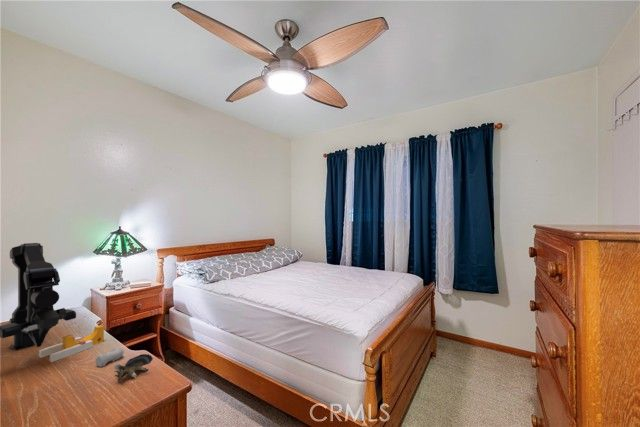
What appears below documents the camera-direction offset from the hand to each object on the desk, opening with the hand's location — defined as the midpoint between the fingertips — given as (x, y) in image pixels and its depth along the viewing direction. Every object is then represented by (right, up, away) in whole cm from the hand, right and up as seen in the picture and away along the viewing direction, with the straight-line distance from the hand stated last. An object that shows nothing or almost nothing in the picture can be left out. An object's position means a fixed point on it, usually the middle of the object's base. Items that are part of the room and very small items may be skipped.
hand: (38, 346), depth 91 cm
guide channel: (+3, -6, +7) cm, 10 cm away
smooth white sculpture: (+25, -6, +1) cm, 25 cm away
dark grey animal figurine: (+39, -6, -8) cm, 41 cm away
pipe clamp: (+5, -6, +11) cm, 14 cm away
